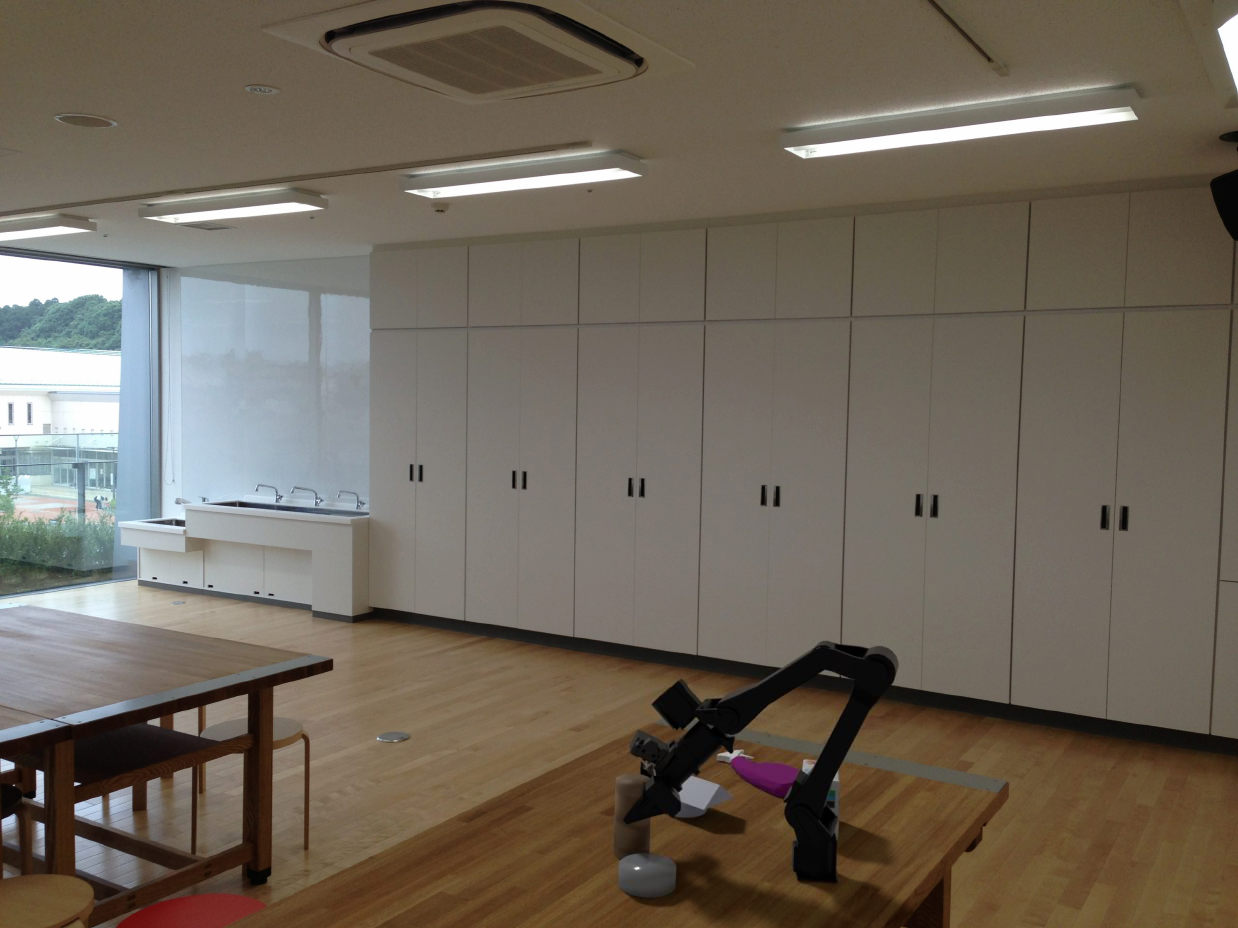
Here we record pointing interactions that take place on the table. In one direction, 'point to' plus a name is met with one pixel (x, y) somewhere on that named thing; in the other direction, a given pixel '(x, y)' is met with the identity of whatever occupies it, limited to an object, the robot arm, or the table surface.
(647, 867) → the slate pedestal
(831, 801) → the light bulb box
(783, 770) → the spray bottle
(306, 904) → the table surface
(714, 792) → the wedge on round base
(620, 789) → the walnut cylinder
